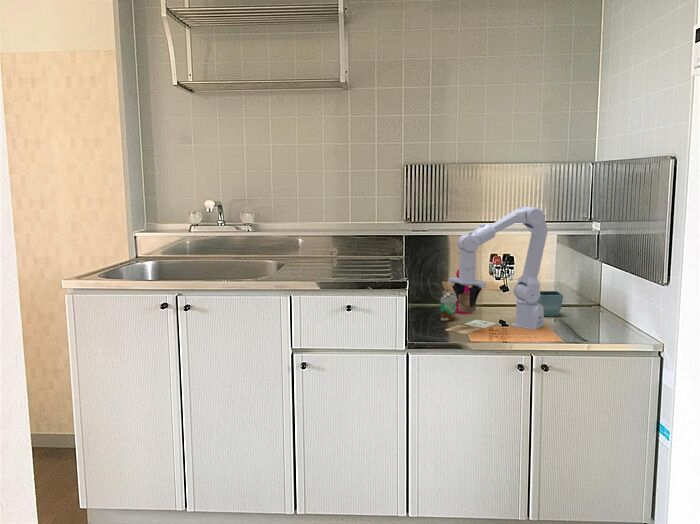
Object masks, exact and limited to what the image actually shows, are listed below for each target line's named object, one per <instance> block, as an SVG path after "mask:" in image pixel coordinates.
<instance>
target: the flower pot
mask: <svg viewBox="0 0 700 524" xmlns="http://www.w3.org/2000/svg"><path fill="white" fill-rule="evenodd" d="M563 299H564V294H562V293H561V292H559V291H558V290H540V298H539V300H538V301H537V303H538V304H541V305H543V308H544V317H557V316H558V315H559V313H560V311H561V310H562V307H563V306H562V305H563Z"/></svg>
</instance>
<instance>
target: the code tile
mask: <svg viewBox="0 0 700 524" xmlns="http://www.w3.org/2000/svg"><path fill="white" fill-rule="evenodd" d="M493 325H497V323H496V322H491V321H486V320H480V319H473V320H470V321H469V322H465V323H464V326H470V327H475V328H480V329H482V328H483V329H486V328H489V327H491V326H493Z"/></svg>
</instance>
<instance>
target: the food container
mask: <svg viewBox="0 0 700 524" xmlns="http://www.w3.org/2000/svg"><path fill="white" fill-rule="evenodd" d="M456 301H457V297H456V294H455V292H452V291H442V295H441V296H440V322H441V323H442V322H451V321H455V317H456V316H455V315H456V312H455V309H456V308H457V306H456Z"/></svg>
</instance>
